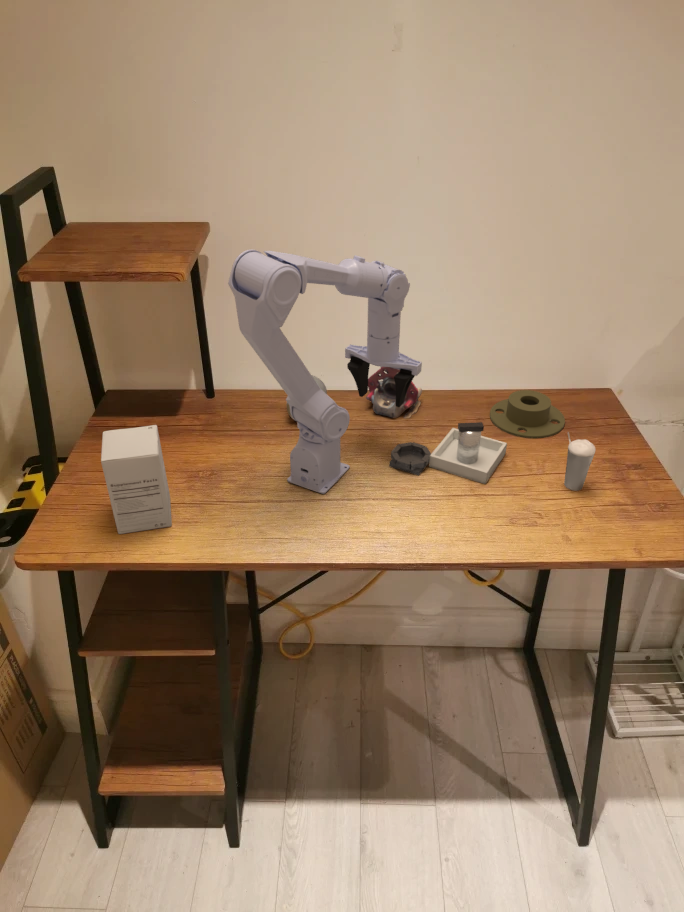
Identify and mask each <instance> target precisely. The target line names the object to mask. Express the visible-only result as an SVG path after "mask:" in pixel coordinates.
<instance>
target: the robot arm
mask: <svg viewBox="0 0 684 912" xmlns="http://www.w3.org/2000/svg"><path fill="white" fill-rule="evenodd" d="M263 253H265V254H263ZM227 284H228V287H229V288H230V290H231V292H232V294H233V296H234V301H235V308H236V313H237V314H236V315H237V321H238V327H239V331H240V333H241V335H242V336H243V337H244V339H245V340H246V341H247V342H248V344H249V346H250V347H251V348H252V349H253V352H254V353H256V355H257V356H258V357H259V359H260V360H261V362H262V363H263V364H264V365H265V367H266V369H267V370H268V371H269V373H270V374H271V375H272V376H273V378H274V379H275V380H276V382H277V384H279V386H280V387H281V388H282V390H283V391H284V392H285V394H286V395H287V396H286V398H285V401H286V404H287V403H288V404H289V407H290V414H291V416H292V418H293V419H294V420H293V419H292V418H291V419H292V420H293V421H295V422H296V423H297V425H296V426H297V429H299V435H298V440H297V442H296V445H295V446H294V447H293V448H292V449H291V451H290V454H289V461H290V463H289V464H290V466H289V467H290V476H289V477H287V478H286V481H287V482H288V483H291V484H293V485H297V486H299V487H302V488H304V489H308V490H311V491H314V492H316V493H319V494H322V495H325V494H326V493H327V492H328V491H329V490H331V488H332V487H333V486H334V485H335V484H336V483H337V482H338V481H339V480H340V479H341V478H342V477H343V475H344V474H345V473H346V472H347V471H349V469H350V465H349V464H346V463H344V462H341V438H342V437H343V436H344V434H345V433H346V431H347V429H348V428H349V424H350V413H349V410H347V409H346V408H345V407H342V406H339V405H338V404H337V402H335V400H334V399H333V398H331V397H330V396H329V395H328V393H327V394H326V393H325V392H324V391H322V390H321V389H320V387H319V386H318V384H317V383H316V381H315V380H314V378H313V377H312V375H313V374H312V373H311V372H310V371H309V369H308V368H307V366H306V365H305V364H304V362H303V361H302V359H301V358H300V356H299V354H298V353H297V352H296V350H295V349H294V347H293V346H292V344H291V342H290V341H289V339H288V338H287V337H286V336H285V334H284V332H283V331H282V330H281V328H282V327H283V326H284V323H286V320H287V318H288V316H289V315H290V313H291V311H292V310H293V307H294V305H295V303H296V301H297V300H298V298H299V295H300V294H301V295H304V294H305V292H306V289H307V285H308V284H314V285H315V284H316V285H317V284H318V285H328V286H334V287H335V288H336V290H337V291H338V292H339V293H340V294H341V295H345V296H352V297H360V298H366V299H367V334H366V335H367V338H366V341H367V342H366V346H365V345H356V344H355V345H354V344H349V345H348V346H346V347H345V349H344V359H348V360H349V362H348V363H347V369H348V370H349V372H350V373H351V374H350V375H352V377H353V379H354V383H355V385H356V388H357V392H358V396H359V397H361V398H363V397H364V396H365V395H366V394H367V393H368V391H369V388H368V379H369V373H370V365H372V366H376V367H379V368H380V367H391V368H395V369H399V370H400V372H398V373H397V374H396V375H395V376H394V381H395V386H396V401H395V403H396V407H400V406H401V405H402V404H403V403H404V399H405V396H406V393H407V390H408V388H409V386H410V384H411V382H413V380H414V378H415V377H417V376H418V375H420V374H421V372H422V367H423V366H422V365H423V362H422V361H420V360H416V359H413V358H412V357H409V356H408V355H405V354H404V353H401V352H400V337H401V335H400V333H401V314H402V311H403V308H404V307H405V299H406V297H407V295H408V293H409V291H410V288H411V287H410V286H411V283H410V282H409V280H408V278H407V275H406V273H405V272H404V271H403V270H402V269H398V268H396V267H393V266H391V265H388V264H385V262H383V261H380V260H372V261H371V262H370V261H366V258H365V257H363V256H360V255H354V256H353V258H344V259H342V260H341V261H340V262H338V263H337V264H336V263H332V262H328V261H324V260H320V259H315V258H312V257H311V258H310V257H308V256H303V255H298V254H294V253H286V252H280V251H274V250H263V252H261V251H259V250H257V249H251V248H250V249H246V250H244V251H242V252H241V253H240V254H239V255H238V256H236V258H235V260H234V261H233V264H232V267H231V270H230V274H229V278H228V283H227Z"/></svg>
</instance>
